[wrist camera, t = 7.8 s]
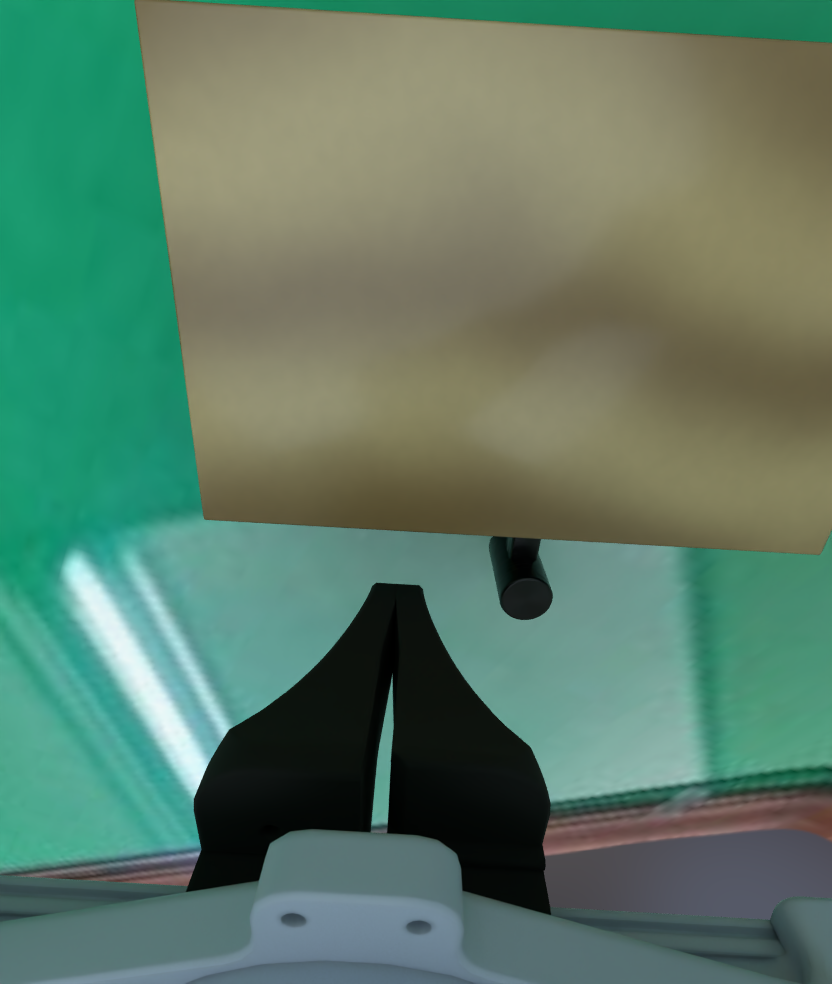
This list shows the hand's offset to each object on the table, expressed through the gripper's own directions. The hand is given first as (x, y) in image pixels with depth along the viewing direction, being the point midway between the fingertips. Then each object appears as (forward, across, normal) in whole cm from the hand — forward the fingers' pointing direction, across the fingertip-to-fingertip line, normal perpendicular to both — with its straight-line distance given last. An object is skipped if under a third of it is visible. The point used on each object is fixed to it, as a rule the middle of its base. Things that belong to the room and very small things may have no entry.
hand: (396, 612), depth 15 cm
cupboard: (+6, -3, -9) cm, 11 cm away
